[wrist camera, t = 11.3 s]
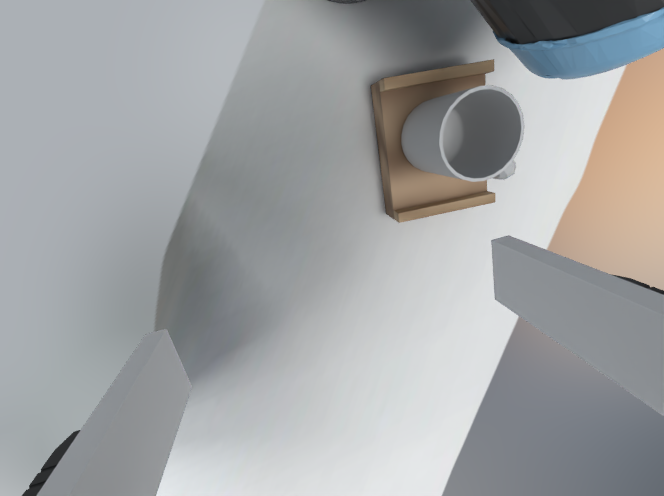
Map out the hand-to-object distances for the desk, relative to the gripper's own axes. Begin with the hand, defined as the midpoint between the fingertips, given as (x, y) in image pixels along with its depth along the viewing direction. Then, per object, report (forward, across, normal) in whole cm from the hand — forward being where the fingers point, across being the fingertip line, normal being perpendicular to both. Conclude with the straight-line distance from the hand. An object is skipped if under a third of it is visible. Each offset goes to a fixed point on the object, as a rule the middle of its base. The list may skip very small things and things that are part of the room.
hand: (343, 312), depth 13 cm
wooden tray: (+26, +16, +3) cm, 30 cm away
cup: (+23, +16, +3) cm, 28 cm away
